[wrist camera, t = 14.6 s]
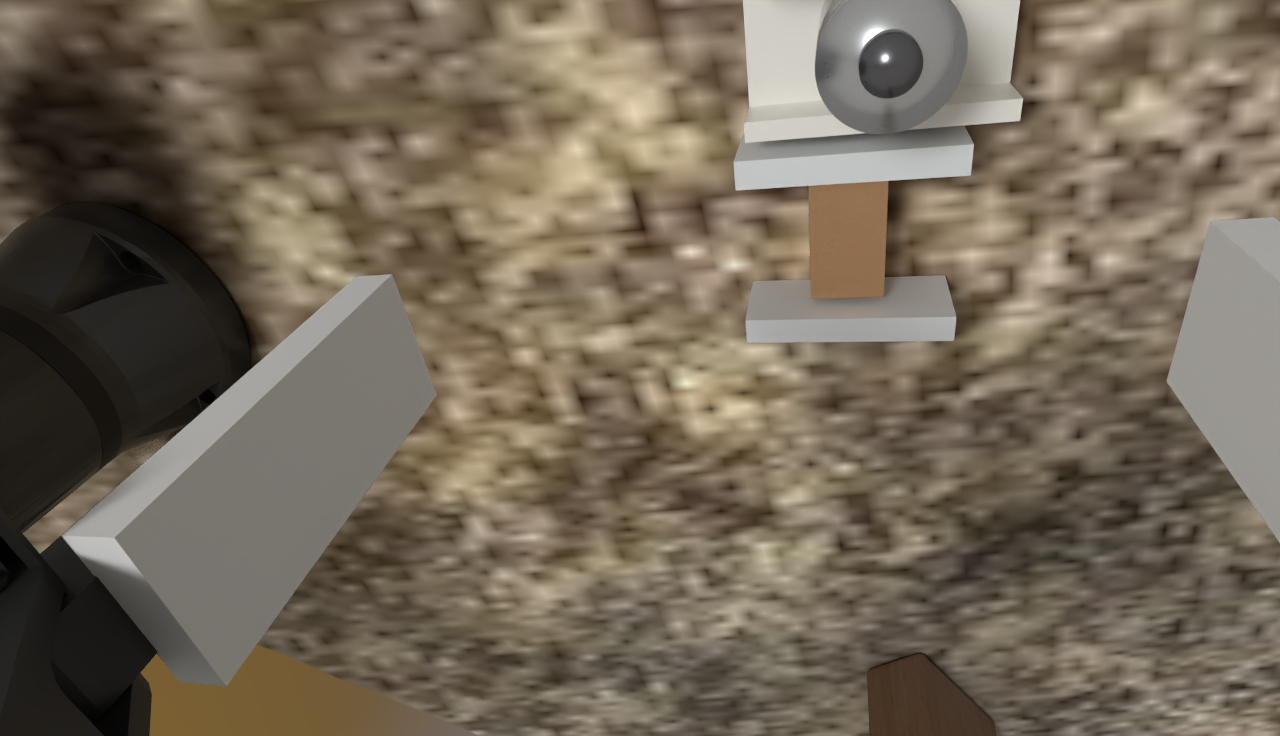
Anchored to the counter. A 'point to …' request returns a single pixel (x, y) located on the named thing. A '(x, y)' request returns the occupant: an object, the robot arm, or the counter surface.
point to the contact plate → (848, 239)
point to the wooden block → (920, 702)
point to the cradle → (908, 301)
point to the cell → (888, 61)
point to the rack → (786, 85)
